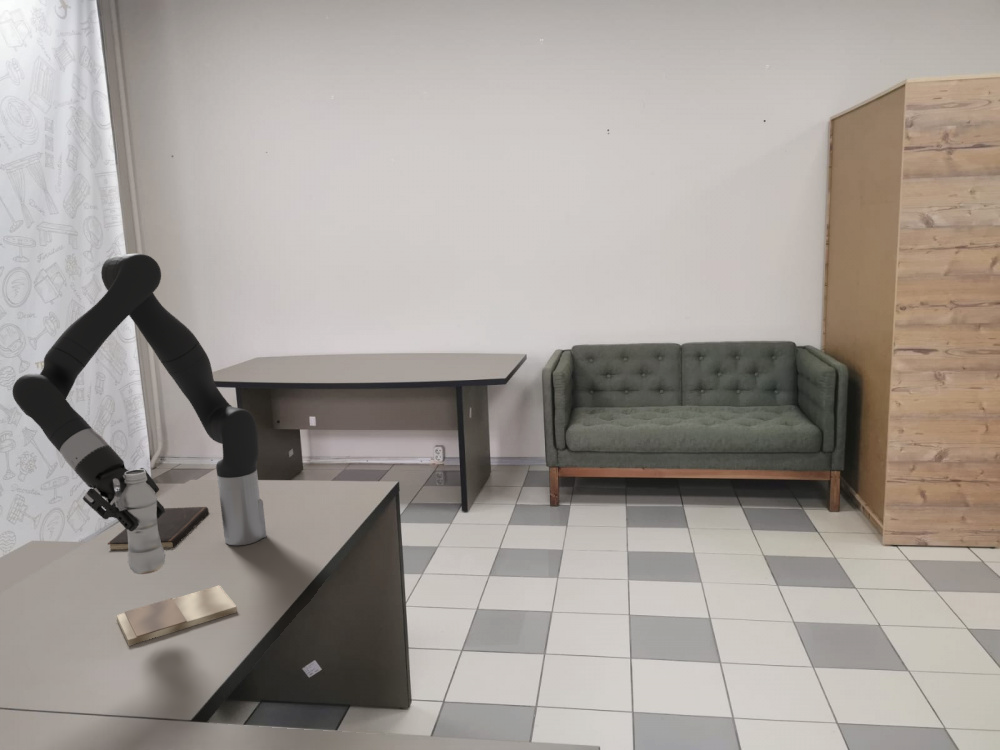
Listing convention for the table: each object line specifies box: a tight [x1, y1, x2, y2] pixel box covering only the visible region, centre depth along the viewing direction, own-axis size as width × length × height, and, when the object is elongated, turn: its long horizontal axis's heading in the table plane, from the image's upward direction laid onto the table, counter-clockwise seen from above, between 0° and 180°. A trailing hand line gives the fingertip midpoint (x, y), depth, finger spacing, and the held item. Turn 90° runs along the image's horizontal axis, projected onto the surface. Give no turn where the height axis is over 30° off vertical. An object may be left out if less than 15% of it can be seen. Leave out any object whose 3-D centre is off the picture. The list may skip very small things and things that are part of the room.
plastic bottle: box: [121, 468, 166, 575], centre depth 149 cm, size 6×7×20 cm
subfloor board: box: [116, 585, 238, 647], centre depth 155 cm, size 20×12×1 cm, turn 125°
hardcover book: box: [107, 506, 210, 550], centre depth 201 cm, size 16×23×2 cm
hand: (148, 521), depth 148 cm, fingers closed on plastic bottle, 6 cm apart
